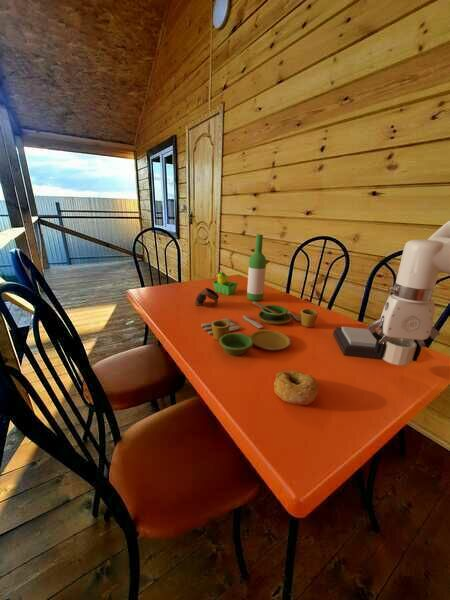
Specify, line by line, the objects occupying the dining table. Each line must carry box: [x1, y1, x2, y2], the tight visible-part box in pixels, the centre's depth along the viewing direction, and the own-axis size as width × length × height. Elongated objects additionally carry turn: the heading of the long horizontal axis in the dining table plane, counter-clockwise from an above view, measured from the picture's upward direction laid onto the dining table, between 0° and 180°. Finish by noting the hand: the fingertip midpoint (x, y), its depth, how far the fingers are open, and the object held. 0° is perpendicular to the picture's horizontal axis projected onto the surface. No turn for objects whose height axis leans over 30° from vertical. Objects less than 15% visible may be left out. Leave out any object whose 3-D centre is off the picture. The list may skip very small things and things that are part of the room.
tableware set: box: [200, 301, 319, 357], centre depth 88 cm, size 41×28×6 cm
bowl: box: [382, 337, 417, 367], centre depth 66 cm, size 7×7×6 cm
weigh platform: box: [341, 326, 379, 347], centre depth 80 cm, size 10×10×2 cm
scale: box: [332, 326, 384, 361], centre depth 80 cm, size 16×14×3 cm
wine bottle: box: [246, 233, 267, 302], centre depth 117 cm, size 8×8×30 cm
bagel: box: [273, 370, 320, 406], centre depth 58 cm, size 10×11×5 cm
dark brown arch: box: [194, 287, 220, 307], centre depth 111 cm, size 12×9×8 cm
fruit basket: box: [212, 271, 239, 296], centre depth 128 cm, size 11×9×11 cm
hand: (395, 356), depth 67 cm, fingers closed on bowl, 7 cm apart
